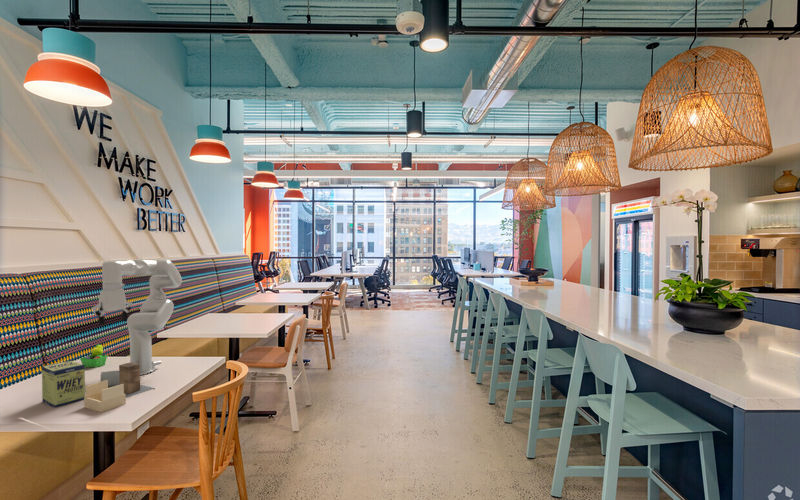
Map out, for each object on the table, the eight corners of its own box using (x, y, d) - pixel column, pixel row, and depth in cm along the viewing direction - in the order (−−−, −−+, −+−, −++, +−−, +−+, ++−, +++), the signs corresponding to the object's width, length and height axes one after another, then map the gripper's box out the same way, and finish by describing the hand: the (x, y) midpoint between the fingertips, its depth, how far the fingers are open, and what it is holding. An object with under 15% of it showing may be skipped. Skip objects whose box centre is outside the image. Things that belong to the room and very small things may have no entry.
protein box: (55, 409, 160) (54, 371, 160) (41, 401, 168) (40, 365, 168) (86, 400, 169) (85, 364, 169) (71, 393, 177) (71, 359, 177)
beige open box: (109, 400, 168) (108, 379, 168) (125, 404, 163) (125, 383, 163) (84, 408, 160) (83, 386, 160) (100, 413, 154) (100, 390, 154)
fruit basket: (78, 367, 218) (78, 347, 218) (93, 362, 227) (93, 343, 227) (96, 368, 216) (95, 347, 216) (110, 363, 225) (110, 344, 225)
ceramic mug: (121, 387, 185) (121, 370, 185) (100, 391, 180) (99, 374, 180) (121, 381, 193) (121, 366, 193) (101, 385, 188) (100, 369, 189)
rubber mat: (137, 385, 187) (136, 383, 187) (154, 389, 181) (154, 388, 181) (104, 395, 174) (104, 393, 174) (122, 400, 168) (122, 398, 168)
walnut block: (131, 387, 181) (130, 362, 181) (140, 390, 178) (139, 364, 178) (119, 391, 177) (119, 365, 177) (128, 393, 174) (127, 367, 174)
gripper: (127, 285, 196) (128, 319, 196) (87, 288, 180) (88, 325, 180) (136, 285, 192) (137, 320, 192) (96, 289, 177) (97, 326, 177)
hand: (113, 322), depth 186 cm, fingers open, 9 cm apart
